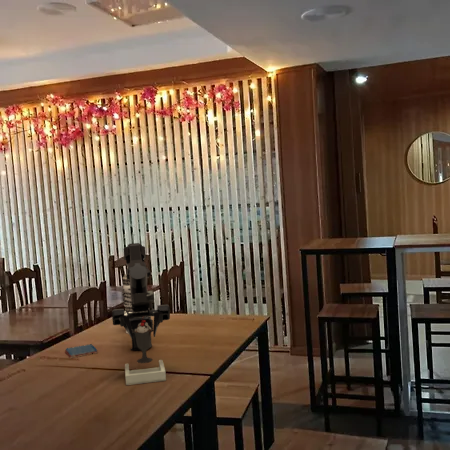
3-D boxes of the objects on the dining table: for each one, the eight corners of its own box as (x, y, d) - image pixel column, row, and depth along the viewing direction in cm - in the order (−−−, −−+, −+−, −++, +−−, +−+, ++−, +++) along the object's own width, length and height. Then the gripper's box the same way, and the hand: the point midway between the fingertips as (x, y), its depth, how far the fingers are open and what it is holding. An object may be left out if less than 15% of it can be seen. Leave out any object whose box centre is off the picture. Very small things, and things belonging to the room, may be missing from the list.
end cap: (125, 372, 189) (124, 364, 189) (162, 368, 191) (162, 359, 191) (126, 385, 177) (125, 375, 177) (166, 380, 179) (165, 371, 179)
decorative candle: (150, 329, 246) (146, 271, 245) (138, 334, 238) (134, 275, 236) (133, 328, 250) (129, 271, 249) (120, 333, 242) (116, 275, 240)
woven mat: (64, 353, 219) (63, 348, 218) (91, 348, 223) (91, 343, 223) (69, 360, 209) (69, 354, 209) (98, 354, 214) (98, 349, 214)
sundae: (145, 365, 179) (142, 318, 178) (130, 362, 183) (126, 316, 182) (159, 359, 185) (156, 313, 184) (144, 356, 189) (141, 312, 187)
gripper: (110, 285, 184) (112, 327, 174) (167, 280, 188) (173, 321, 178) (111, 304, 193) (114, 345, 183) (167, 299, 196) (172, 339, 186)
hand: (143, 337), depth 182 cm, fingers closed on sundae, 7 cm apart
